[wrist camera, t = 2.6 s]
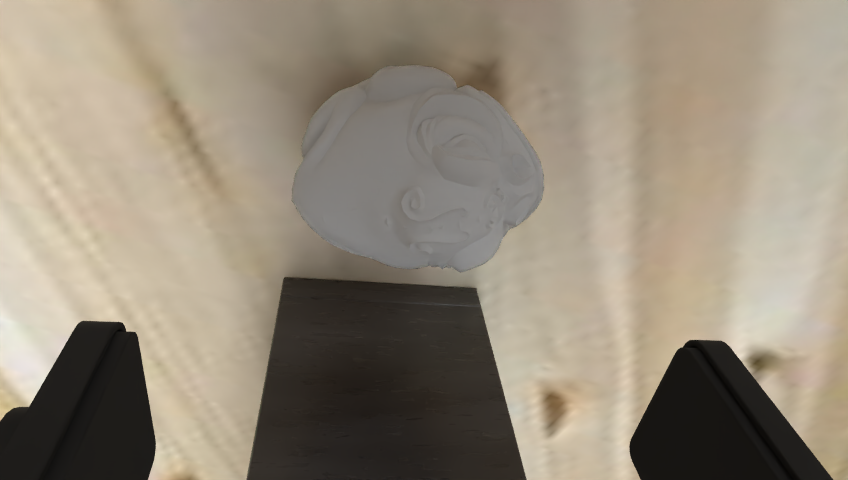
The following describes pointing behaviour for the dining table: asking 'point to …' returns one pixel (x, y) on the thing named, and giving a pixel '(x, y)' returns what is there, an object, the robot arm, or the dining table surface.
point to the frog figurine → (416, 171)
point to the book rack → (382, 387)
